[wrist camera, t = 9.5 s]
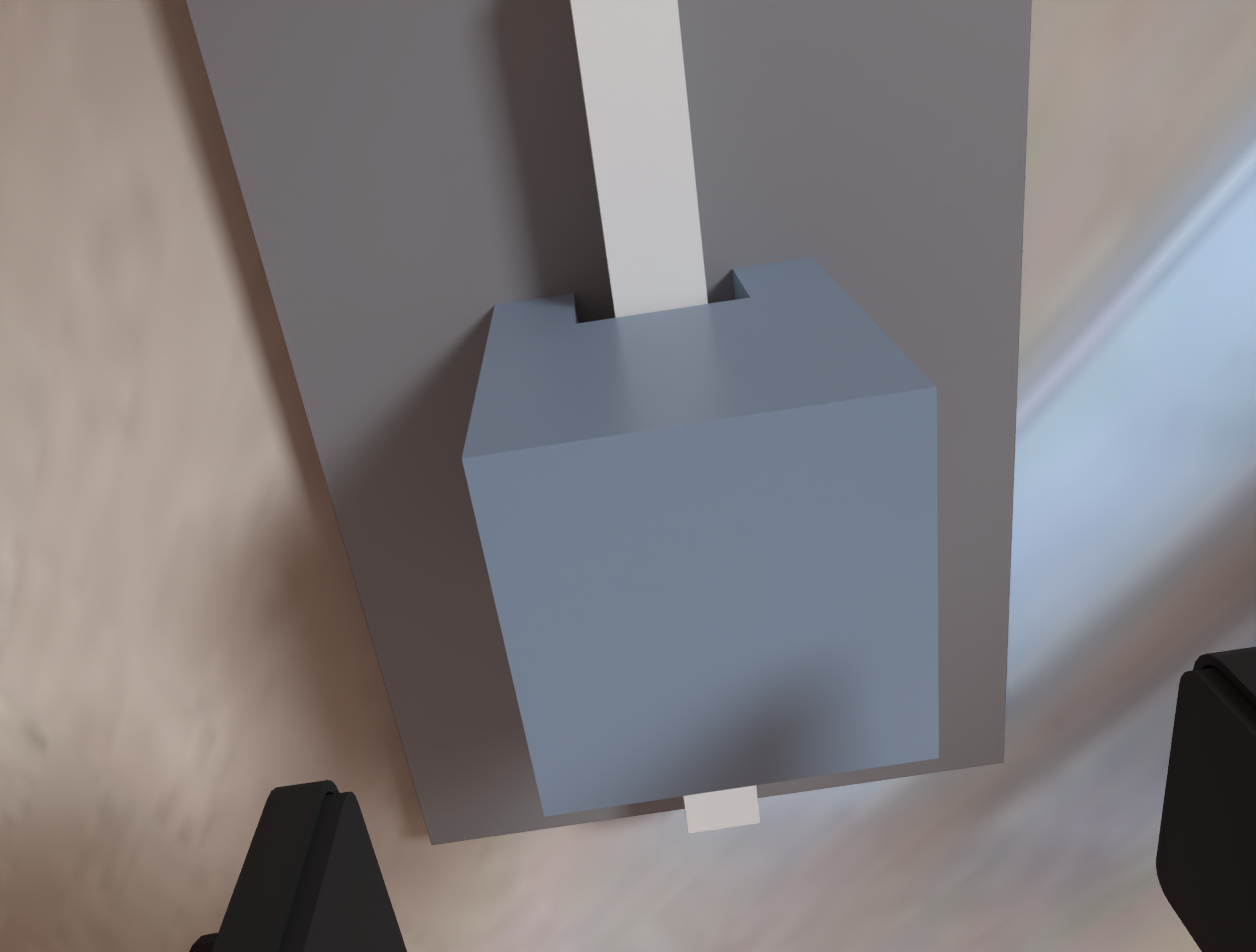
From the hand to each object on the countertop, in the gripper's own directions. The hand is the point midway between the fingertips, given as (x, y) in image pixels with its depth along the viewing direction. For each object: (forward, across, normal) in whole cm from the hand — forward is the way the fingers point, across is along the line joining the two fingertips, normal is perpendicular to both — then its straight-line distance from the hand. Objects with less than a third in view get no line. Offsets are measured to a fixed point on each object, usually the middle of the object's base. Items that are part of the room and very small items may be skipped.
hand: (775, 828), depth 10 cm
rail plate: (+12, 0, 0) cm, 12 cm away
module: (+11, 0, 0) cm, 11 cm away
